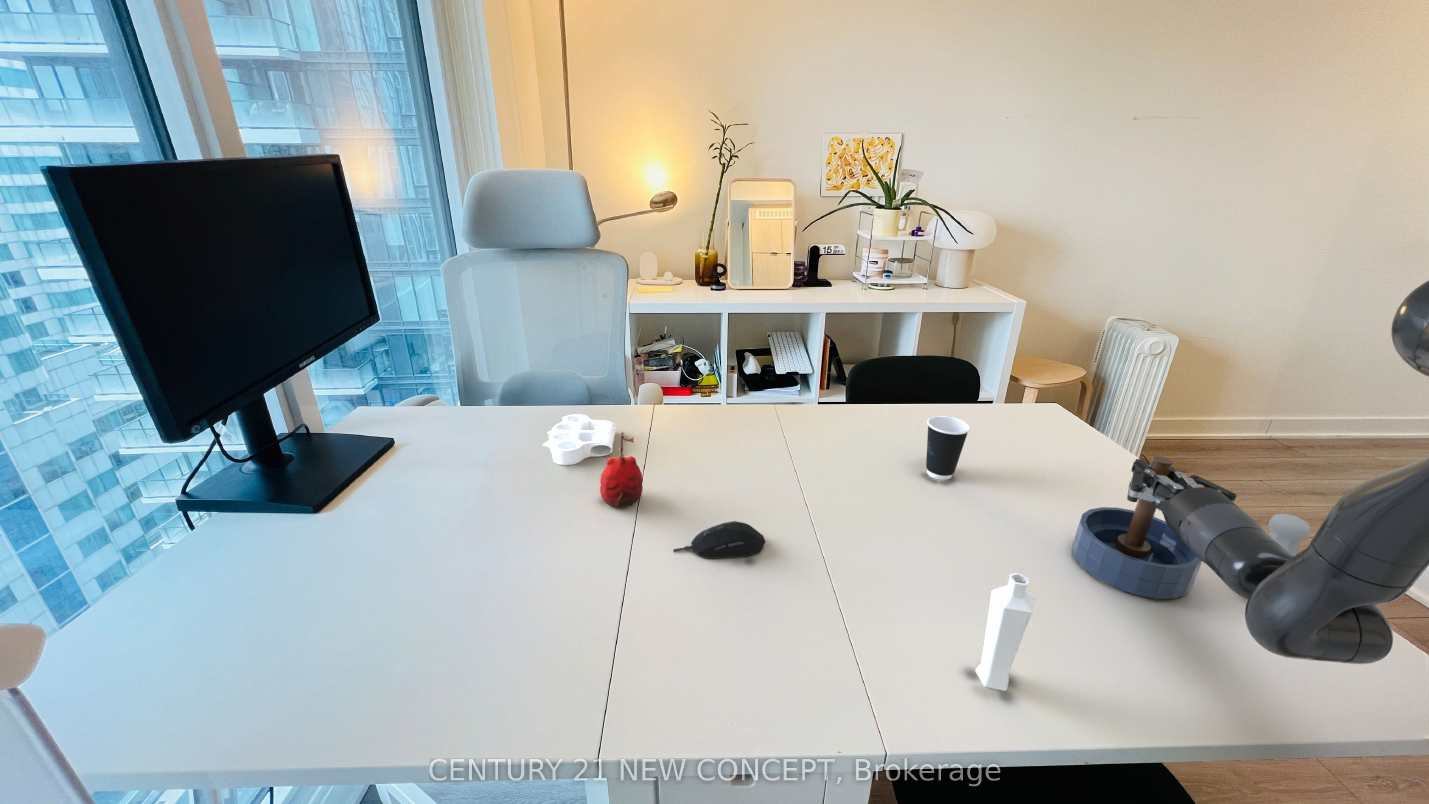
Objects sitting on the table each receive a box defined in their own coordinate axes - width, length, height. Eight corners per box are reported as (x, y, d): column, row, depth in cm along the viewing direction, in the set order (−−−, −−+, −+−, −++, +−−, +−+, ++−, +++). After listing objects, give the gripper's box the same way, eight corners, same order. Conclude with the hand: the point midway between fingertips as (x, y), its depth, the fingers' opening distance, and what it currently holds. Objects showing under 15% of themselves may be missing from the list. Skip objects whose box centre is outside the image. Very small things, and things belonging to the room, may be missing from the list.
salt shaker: (1295, 607, 85) (1334, 531, 80) (1256, 607, 85) (1292, 531, 80) (1261, 580, 91) (1294, 508, 86) (1223, 580, 91) (1255, 507, 86)
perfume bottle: (993, 698, 70) (1021, 597, 64) (966, 670, 74) (990, 572, 68) (1022, 687, 72) (1052, 587, 66) (994, 660, 75) (1020, 563, 70)
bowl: (1190, 562, 95) (1203, 530, 92) (1188, 617, 83) (1203, 583, 81) (1079, 526, 103) (1088, 496, 101) (1063, 572, 92) (1073, 539, 89)
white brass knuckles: (611, 464, 121) (537, 466, 119) (617, 426, 137) (552, 427, 136) (610, 449, 119) (535, 451, 118) (616, 413, 136) (551, 414, 135)
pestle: (1149, 548, 94) (1181, 458, 88) (1147, 562, 90) (1180, 470, 84) (1116, 538, 96) (1145, 450, 90) (1113, 551, 93) (1143, 460, 87)
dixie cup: (968, 476, 119) (979, 426, 114) (944, 487, 114) (954, 436, 110) (934, 460, 125) (943, 412, 120) (910, 470, 120) (918, 421, 116)
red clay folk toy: (640, 488, 112) (637, 416, 106) (646, 508, 106) (643, 432, 100) (599, 493, 110) (594, 419, 105) (602, 514, 104) (598, 437, 98)
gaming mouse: (671, 539, 98) (671, 519, 96) (759, 532, 100) (760, 512, 98) (675, 564, 92) (675, 542, 90) (768, 555, 94) (770, 534, 93)
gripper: (1289, 510, 73) (1205, 447, 88) (1164, 499, 75) (1104, 439, 90) (1266, 560, 76) (1189, 490, 91) (1147, 548, 78) (1091, 482, 93)
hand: (1147, 465), depth 91 cm, fingers closed on pestle, 2 cm apart
